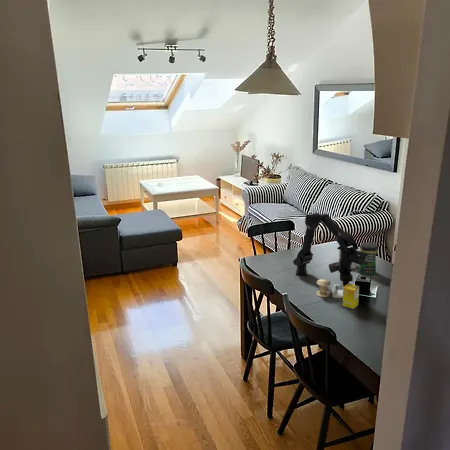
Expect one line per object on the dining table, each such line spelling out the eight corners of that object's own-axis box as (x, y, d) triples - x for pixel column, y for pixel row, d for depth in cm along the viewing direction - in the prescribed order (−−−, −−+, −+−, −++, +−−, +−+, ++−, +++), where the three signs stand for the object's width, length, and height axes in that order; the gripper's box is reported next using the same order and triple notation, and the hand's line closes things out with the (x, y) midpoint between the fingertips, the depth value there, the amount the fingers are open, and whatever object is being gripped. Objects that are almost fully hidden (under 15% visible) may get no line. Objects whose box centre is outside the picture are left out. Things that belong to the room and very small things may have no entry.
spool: (316, 291, 232) (316, 279, 230) (329, 291, 230) (330, 279, 228) (316, 296, 225) (316, 284, 223) (330, 297, 224) (330, 285, 222)
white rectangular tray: (332, 288, 233) (332, 283, 232) (355, 290, 231) (355, 284, 230) (333, 297, 224) (333, 292, 223) (356, 298, 222) (357, 293, 221)
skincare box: (358, 265, 263) (359, 249, 259) (354, 269, 258) (355, 252, 254) (341, 262, 268) (342, 246, 265) (338, 265, 263) (338, 249, 260)
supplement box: (347, 302, 218) (348, 283, 215) (358, 305, 214) (359, 285, 211) (342, 307, 214) (342, 287, 210) (353, 310, 210) (354, 290, 207)
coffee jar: (359, 275, 249) (361, 245, 243) (357, 269, 256) (359, 240, 251) (376, 275, 247) (379, 245, 242) (374, 270, 255) (376, 240, 249)
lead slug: (348, 287, 228) (348, 275, 226) (348, 290, 224) (349, 278, 222) (339, 286, 229) (340, 274, 227) (340, 290, 225) (340, 278, 223)
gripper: (329, 251, 232) (328, 278, 236) (330, 265, 214) (329, 293, 219) (350, 252, 230) (349, 279, 234) (353, 266, 212) (352, 294, 217)
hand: (344, 286), depth 226 cm, fingers closed on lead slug, 4 cm apart
